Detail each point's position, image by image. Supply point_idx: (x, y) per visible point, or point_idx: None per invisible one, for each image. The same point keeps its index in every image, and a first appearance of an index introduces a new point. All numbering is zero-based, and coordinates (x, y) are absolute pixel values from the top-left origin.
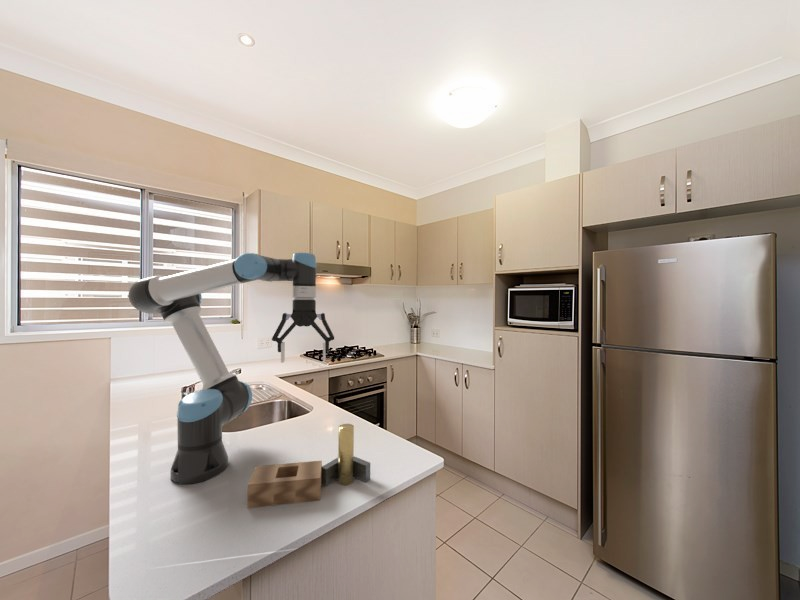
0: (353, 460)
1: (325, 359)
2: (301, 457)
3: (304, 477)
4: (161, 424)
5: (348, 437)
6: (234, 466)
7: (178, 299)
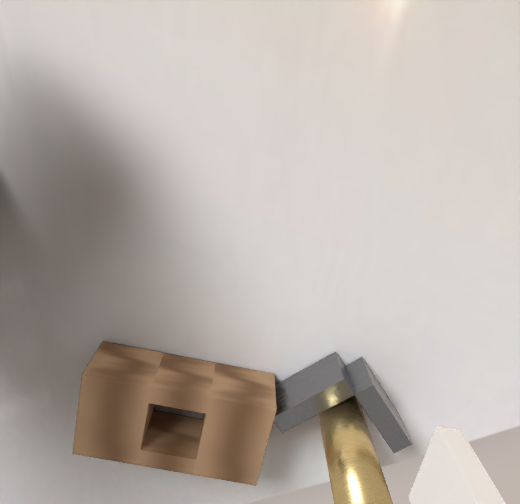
0: (370, 417)
1: (461, 437)
2: (235, 220)
3: (216, 470)
4: None
5: None
6: (18, 198)
7: None
